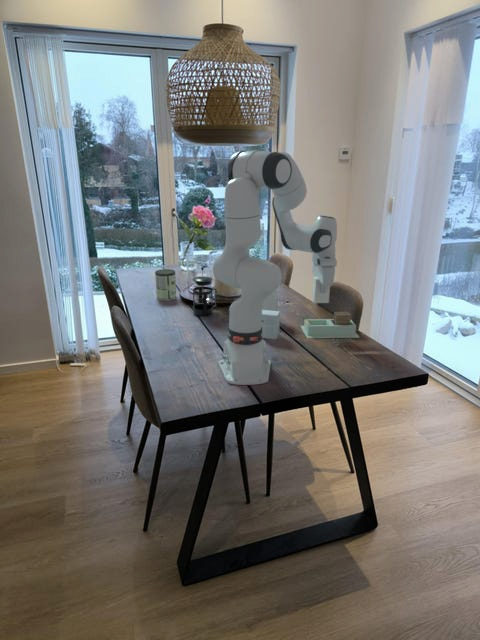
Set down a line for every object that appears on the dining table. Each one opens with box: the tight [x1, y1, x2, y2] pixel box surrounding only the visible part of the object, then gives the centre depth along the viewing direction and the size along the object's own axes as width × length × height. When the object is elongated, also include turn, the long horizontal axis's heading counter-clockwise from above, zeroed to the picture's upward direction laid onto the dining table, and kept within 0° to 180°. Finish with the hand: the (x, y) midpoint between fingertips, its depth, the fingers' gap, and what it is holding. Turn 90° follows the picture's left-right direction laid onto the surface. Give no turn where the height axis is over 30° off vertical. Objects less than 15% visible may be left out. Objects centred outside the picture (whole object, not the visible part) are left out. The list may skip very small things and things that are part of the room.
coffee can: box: [154, 268, 177, 302], centre depth 226 cm, size 10×10×14 cm
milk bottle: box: [262, 290, 278, 311], centre depth 195 cm, size 8×8×20 cm
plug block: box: [311, 276, 331, 304], centre depth 178 cm, size 4×6×10 cm, turn 94°
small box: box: [261, 310, 281, 340], centre depth 180 cm, size 8×6×10 cm
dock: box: [300, 318, 361, 339], centre depth 184 cm, size 14×22×5 cm, turn 94°
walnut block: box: [333, 311, 352, 325], centre depth 184 cm, size 4×6×8 cm, turn 94°
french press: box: [192, 264, 218, 318], centre depth 203 cm, size 12×9×23 cm
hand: (320, 290), depth 178 cm, fingers closed on plug block, 4 cm apart
